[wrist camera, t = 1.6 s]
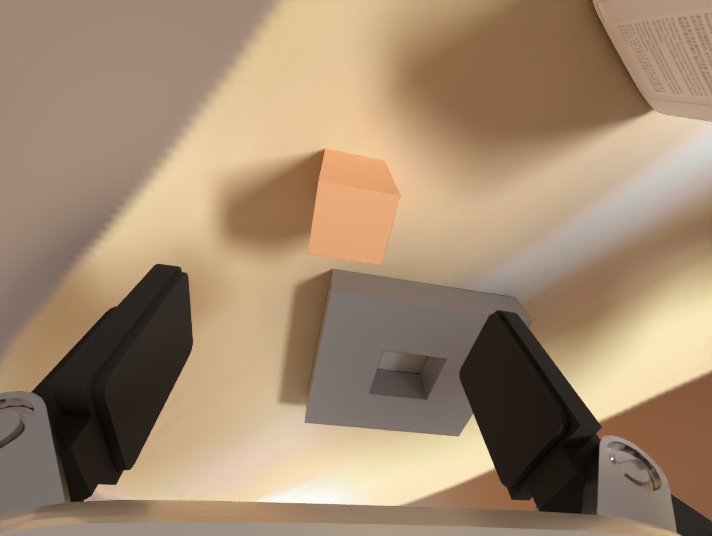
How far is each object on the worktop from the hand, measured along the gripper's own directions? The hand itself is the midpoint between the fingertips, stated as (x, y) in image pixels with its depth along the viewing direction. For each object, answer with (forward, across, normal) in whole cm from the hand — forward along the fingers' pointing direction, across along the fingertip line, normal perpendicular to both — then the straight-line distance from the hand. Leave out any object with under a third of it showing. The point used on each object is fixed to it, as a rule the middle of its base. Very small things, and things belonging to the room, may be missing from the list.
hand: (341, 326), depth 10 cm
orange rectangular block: (+14, -1, 0) cm, 14 cm away
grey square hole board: (+14, -9, +15) cm, 22 cm away
